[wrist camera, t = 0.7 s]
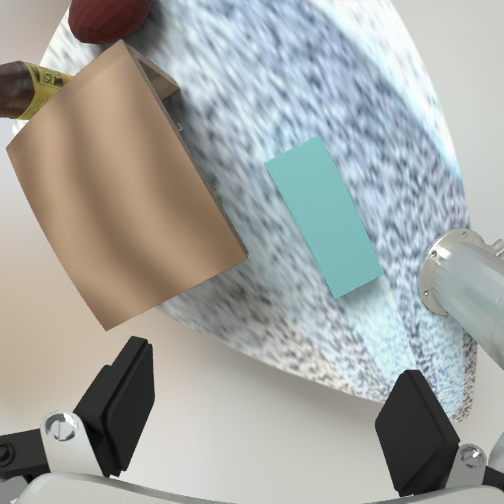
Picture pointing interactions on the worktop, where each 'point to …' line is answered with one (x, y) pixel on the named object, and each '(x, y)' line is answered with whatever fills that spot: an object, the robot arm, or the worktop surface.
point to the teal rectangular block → (325, 215)
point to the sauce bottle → (27, 88)
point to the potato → (106, 19)
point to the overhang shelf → (122, 189)
